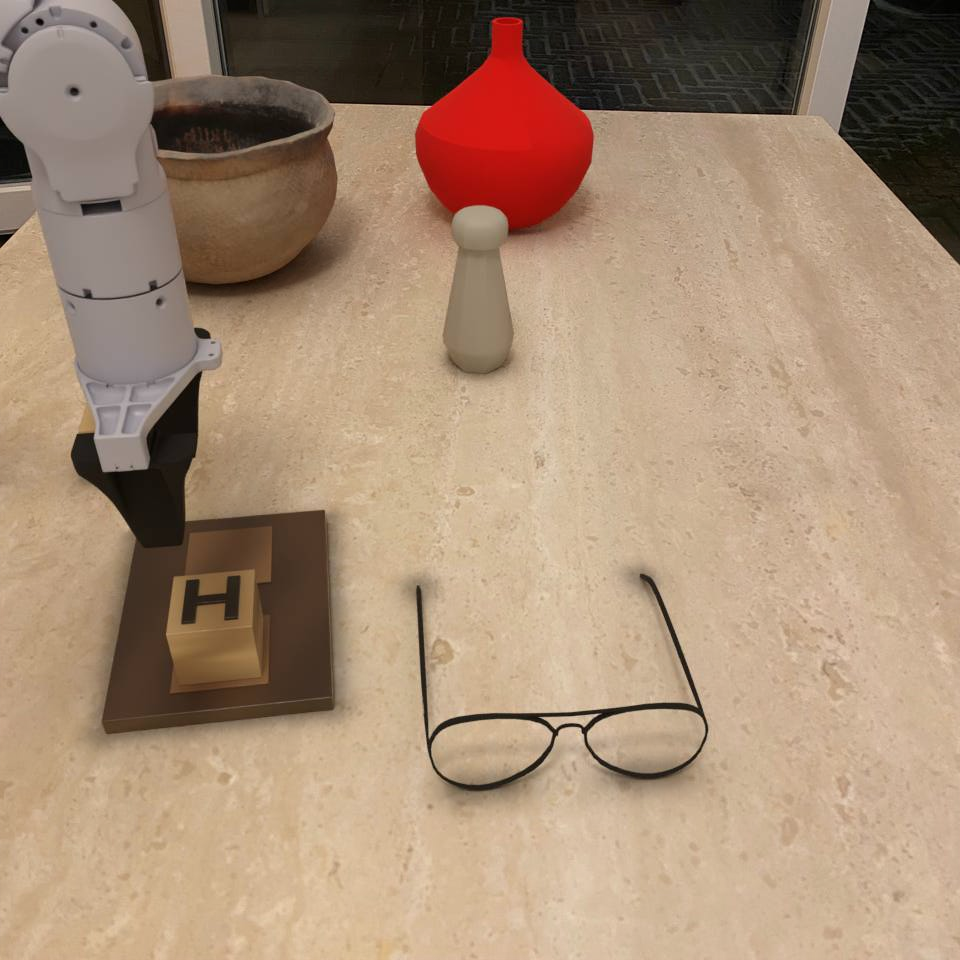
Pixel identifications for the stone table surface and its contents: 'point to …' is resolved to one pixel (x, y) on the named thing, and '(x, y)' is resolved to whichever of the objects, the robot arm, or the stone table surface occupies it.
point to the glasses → (535, 716)
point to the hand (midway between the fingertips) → (171, 497)
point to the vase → (505, 138)
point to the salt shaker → (478, 292)
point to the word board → (286, 628)
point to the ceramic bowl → (243, 171)
